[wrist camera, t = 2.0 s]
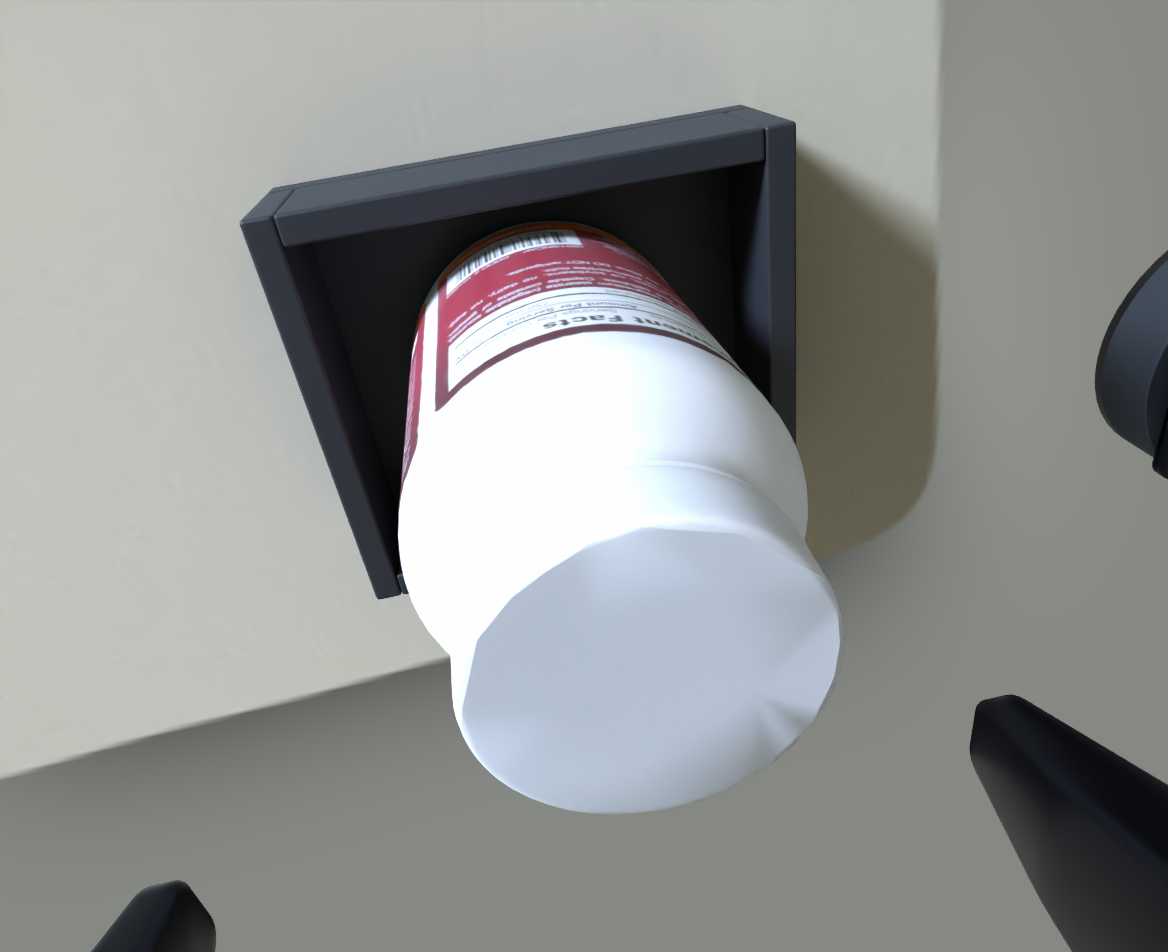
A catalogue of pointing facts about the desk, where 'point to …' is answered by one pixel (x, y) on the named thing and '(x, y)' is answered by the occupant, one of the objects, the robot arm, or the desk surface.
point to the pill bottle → (606, 531)
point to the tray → (496, 201)
